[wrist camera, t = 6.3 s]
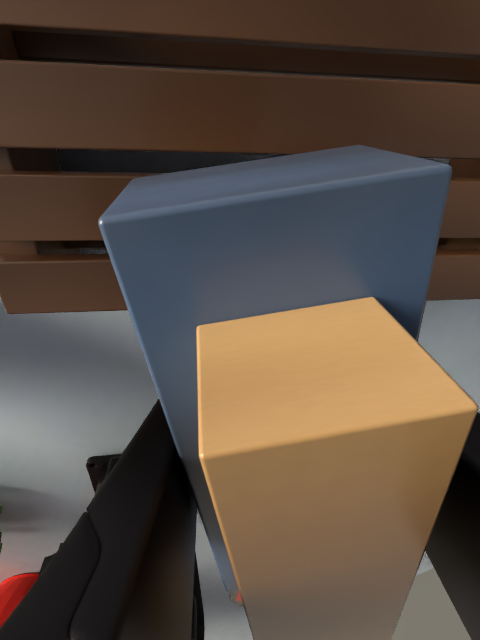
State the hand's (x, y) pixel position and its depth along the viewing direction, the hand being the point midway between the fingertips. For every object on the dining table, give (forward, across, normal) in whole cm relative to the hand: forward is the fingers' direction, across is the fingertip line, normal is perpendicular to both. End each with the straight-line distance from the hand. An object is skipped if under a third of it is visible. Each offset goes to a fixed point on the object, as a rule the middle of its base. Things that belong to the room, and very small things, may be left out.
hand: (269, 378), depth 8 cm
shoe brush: (+2, 0, 0) cm, 2 cm away
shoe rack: (+11, -2, -4) cm, 12 cm away
